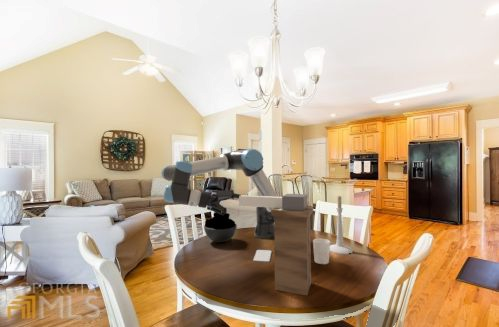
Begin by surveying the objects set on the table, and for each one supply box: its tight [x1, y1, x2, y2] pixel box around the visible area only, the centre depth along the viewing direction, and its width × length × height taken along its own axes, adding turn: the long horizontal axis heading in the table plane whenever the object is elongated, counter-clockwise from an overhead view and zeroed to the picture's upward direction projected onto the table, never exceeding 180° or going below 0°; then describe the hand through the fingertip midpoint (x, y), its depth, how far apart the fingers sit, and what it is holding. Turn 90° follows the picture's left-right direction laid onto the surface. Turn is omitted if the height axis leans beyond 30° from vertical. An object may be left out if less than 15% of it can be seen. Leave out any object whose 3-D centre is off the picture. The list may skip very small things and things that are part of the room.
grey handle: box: [238, 193, 308, 211], centre depth 98 cm, size 9×27×5 cm, turn 69°
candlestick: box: [330, 195, 354, 255], centre depth 134 cm, size 13×13×30 cm
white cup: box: [312, 238, 331, 265], centre depth 118 cm, size 8×8×10 cm
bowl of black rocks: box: [203, 211, 238, 243], centre depth 151 cm, size 20×20×19 cm
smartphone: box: [252, 249, 273, 263], centre depth 126 cm, size 8×1×15 cm
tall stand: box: [271, 206, 314, 296], centre depth 94 cm, size 12×14×30 cm
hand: (243, 205), depth 118 cm, fingers open, 13 cm apart
